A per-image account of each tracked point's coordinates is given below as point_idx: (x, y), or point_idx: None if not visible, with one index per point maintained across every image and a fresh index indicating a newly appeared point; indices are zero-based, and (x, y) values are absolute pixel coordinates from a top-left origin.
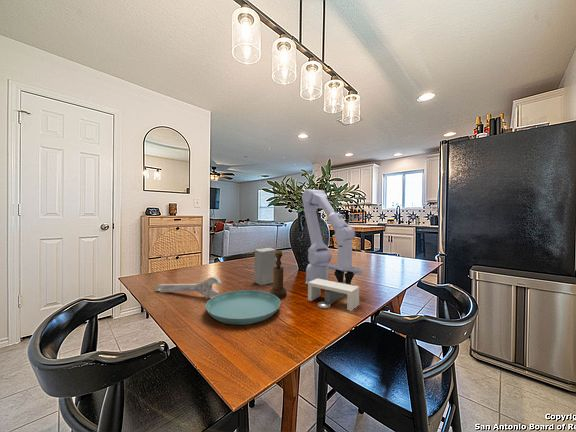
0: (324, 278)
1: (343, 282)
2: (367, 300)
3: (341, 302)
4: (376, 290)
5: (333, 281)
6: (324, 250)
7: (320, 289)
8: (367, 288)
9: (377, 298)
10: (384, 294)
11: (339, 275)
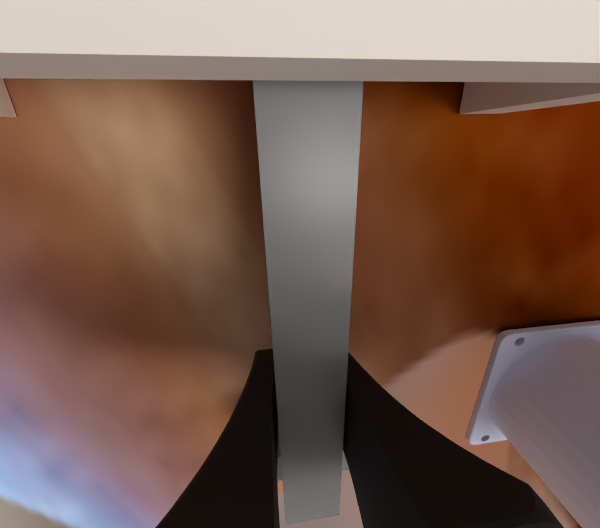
0: (557, 425)
1: (316, 417)
2: (24, 318)
3: None
4: (138, 524)
5: (393, 57)
6: None
7: (522, 98)
8: None
9: (6, 412)
10: (40, 504)
11: (404, 493)
